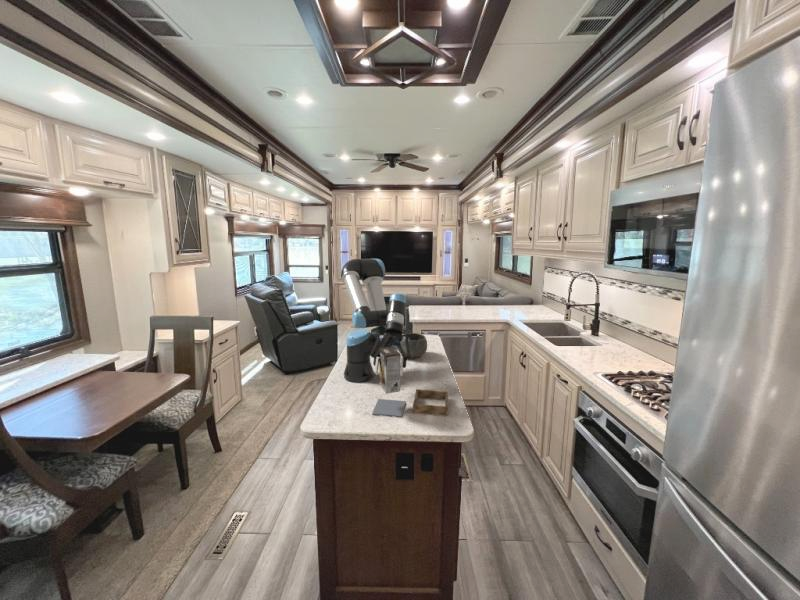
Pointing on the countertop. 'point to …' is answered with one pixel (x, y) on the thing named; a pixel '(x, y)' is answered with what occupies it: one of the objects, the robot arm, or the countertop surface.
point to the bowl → (415, 344)
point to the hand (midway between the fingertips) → (388, 374)
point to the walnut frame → (431, 408)
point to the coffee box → (389, 369)
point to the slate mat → (389, 407)
